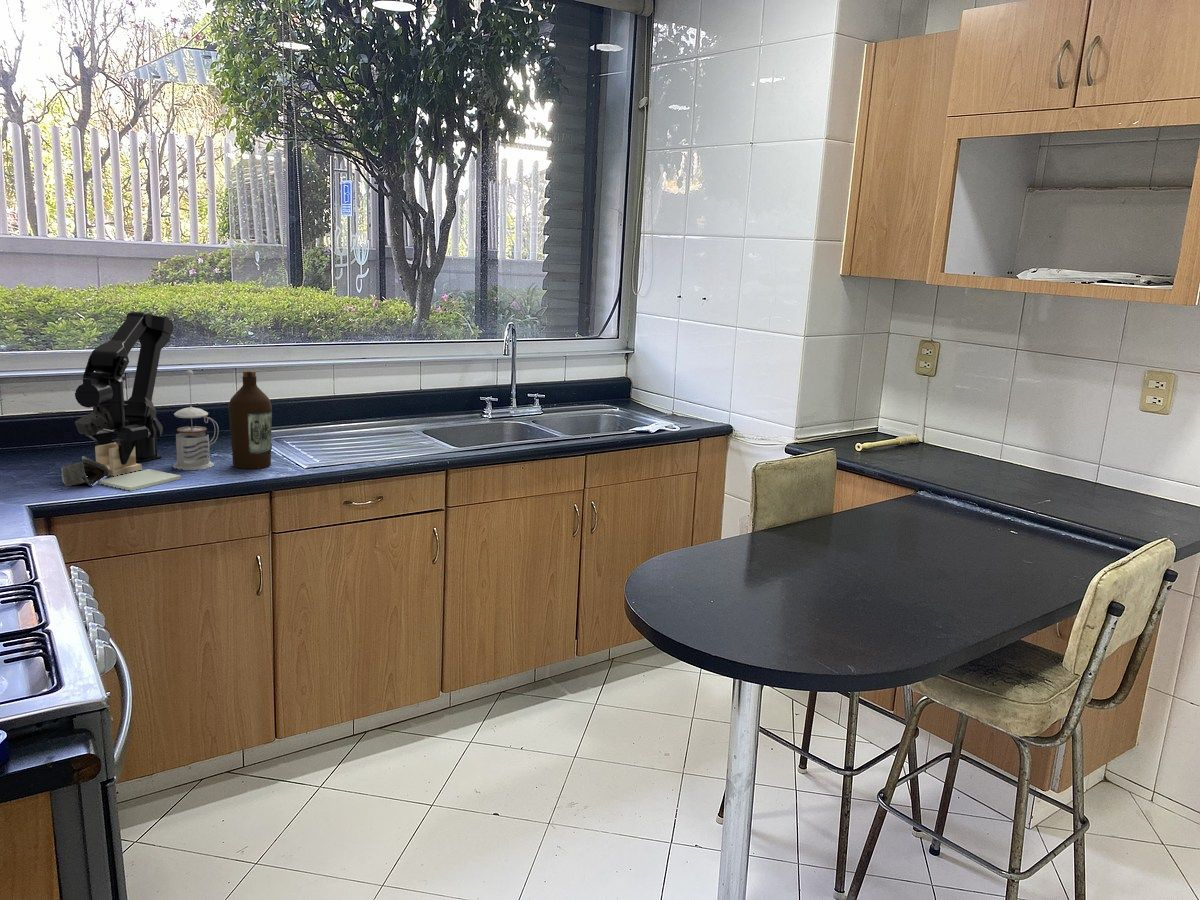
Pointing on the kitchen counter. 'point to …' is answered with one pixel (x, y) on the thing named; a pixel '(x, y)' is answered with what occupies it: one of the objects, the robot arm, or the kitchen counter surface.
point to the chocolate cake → (83, 472)
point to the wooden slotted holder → (115, 459)
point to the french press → (193, 439)
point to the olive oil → (250, 425)
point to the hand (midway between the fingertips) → (114, 462)
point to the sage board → (139, 479)
